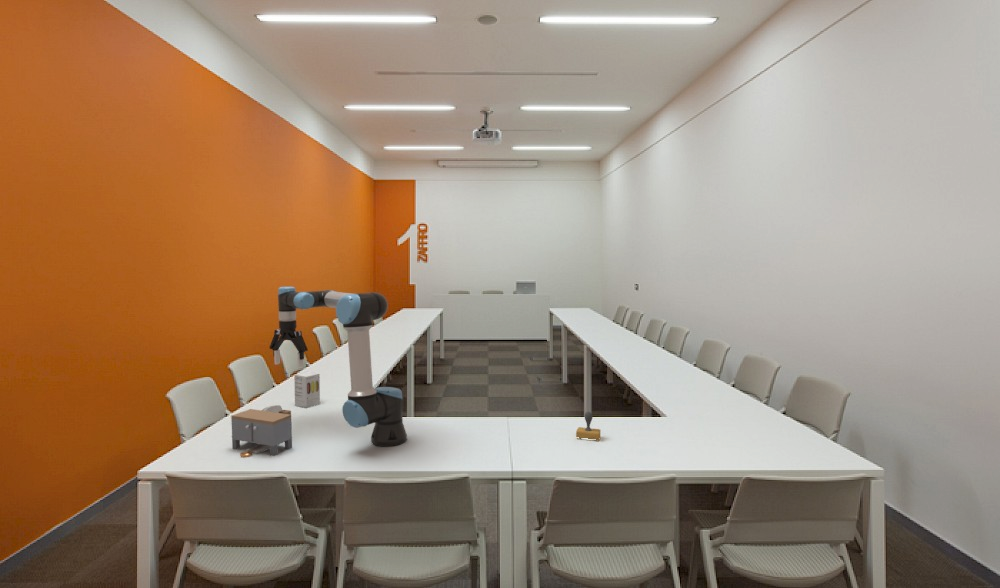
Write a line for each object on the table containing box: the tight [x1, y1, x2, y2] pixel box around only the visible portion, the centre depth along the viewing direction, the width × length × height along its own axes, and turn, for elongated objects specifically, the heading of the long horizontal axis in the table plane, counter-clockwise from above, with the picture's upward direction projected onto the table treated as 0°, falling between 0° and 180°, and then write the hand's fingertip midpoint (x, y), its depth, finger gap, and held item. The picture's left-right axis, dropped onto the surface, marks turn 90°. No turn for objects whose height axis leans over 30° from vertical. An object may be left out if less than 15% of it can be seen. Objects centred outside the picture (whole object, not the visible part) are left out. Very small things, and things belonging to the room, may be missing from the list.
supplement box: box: [293, 371, 321, 409], centre depth 281 cm, size 10×9×17 cm
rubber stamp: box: [575, 411, 601, 441], centre depth 232 cm, size 10×6×12 cm, turn 72°
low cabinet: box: [230, 408, 293, 457], centre depth 218 cm, size 22×11×14 cm, turn 69°
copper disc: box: [239, 451, 253, 458], centre depth 211 cm, size 4×4×1 cm
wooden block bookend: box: [244, 409, 292, 455], centre depth 222 cm, size 6×20×12 cm, turn 159°
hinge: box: [261, 404, 283, 413], centre depth 248 cm, size 17×5×10 cm, turn 168°
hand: (288, 365), depth 245 cm, fingers open, 13 cm apart
